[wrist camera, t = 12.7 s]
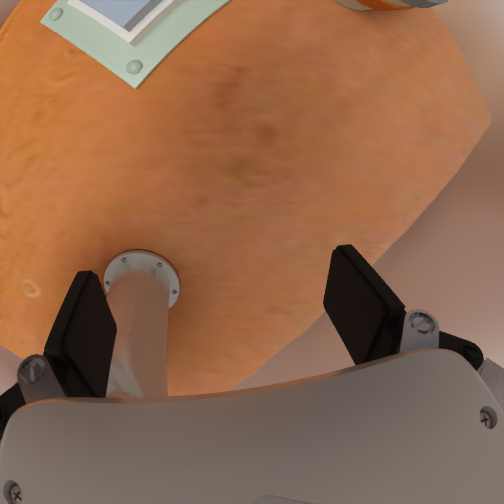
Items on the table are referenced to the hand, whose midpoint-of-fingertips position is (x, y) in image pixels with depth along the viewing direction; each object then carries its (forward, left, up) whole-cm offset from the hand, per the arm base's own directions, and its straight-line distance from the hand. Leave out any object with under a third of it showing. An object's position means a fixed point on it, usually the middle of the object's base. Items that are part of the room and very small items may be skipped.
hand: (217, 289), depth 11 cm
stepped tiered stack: (+11, +22, -28) cm, 37 cm away
